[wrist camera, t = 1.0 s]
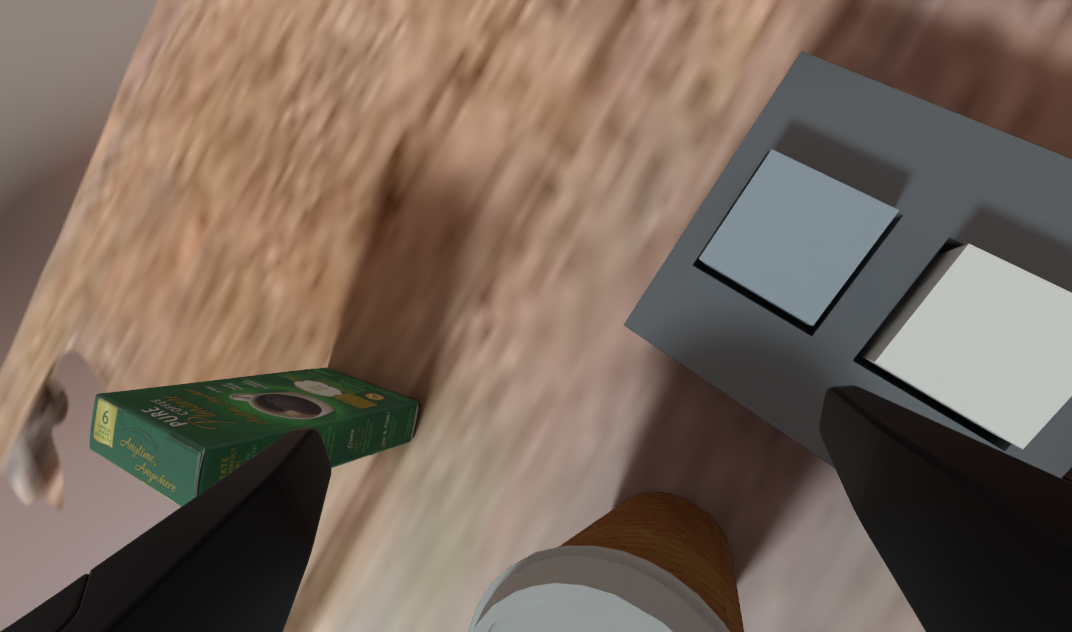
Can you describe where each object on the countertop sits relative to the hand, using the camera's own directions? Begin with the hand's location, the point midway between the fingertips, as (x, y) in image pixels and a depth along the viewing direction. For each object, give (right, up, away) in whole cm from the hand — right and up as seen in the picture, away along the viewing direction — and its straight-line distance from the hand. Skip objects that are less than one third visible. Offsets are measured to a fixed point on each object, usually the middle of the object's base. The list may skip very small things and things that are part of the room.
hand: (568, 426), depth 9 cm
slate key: (+10, +5, +12) cm, 16 cm away
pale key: (+15, +1, +10) cm, 18 cm away
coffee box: (-11, -4, +24) cm, 27 cm away
